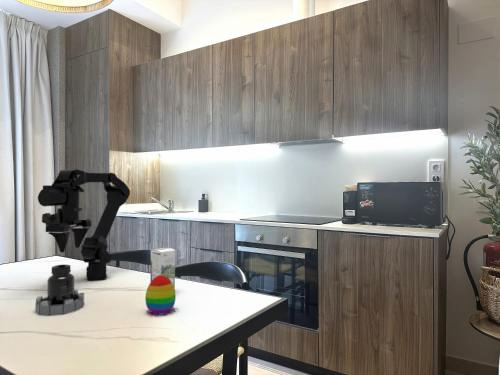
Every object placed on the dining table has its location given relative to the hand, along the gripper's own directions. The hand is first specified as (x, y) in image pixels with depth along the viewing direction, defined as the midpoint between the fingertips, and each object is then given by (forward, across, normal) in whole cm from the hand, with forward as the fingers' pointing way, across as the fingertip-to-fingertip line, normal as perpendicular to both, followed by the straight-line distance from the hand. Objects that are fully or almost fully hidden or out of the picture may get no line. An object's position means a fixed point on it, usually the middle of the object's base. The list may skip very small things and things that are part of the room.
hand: (69, 249), depth 122 cm
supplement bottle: (+13, +21, +10) cm, 26 cm away
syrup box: (+13, +6, +35) cm, 37 cm away
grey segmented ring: (+13, +21, +10) cm, 26 cm away
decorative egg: (+13, +22, +39) cm, 47 cm away
